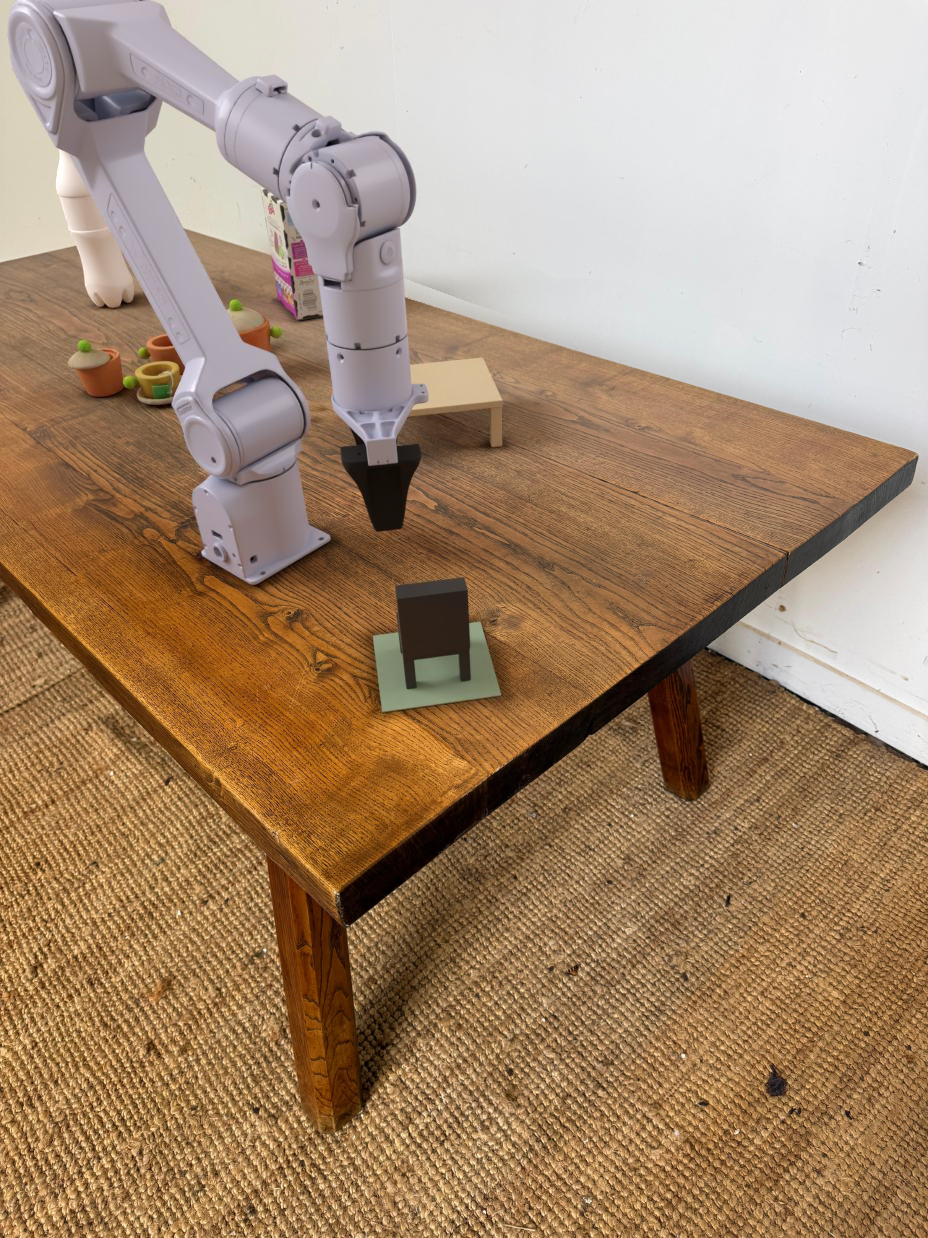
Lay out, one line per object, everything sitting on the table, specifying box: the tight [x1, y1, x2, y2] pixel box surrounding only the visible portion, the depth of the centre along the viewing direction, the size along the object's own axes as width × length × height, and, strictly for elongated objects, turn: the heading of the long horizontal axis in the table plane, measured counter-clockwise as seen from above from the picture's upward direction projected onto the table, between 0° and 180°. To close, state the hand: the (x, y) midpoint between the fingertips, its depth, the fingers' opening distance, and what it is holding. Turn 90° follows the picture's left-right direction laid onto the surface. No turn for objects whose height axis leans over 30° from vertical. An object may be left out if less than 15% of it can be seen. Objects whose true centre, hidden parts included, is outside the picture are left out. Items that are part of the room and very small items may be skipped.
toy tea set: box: [67, 299, 283, 406], centre depth 112 cm, size 26×16×10 cm, turn 126°
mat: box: [372, 621, 502, 714], centre depth 69 cm, size 9×9×1 cm
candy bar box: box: [260, 186, 323, 321], centre depth 130 cm, size 11×5×16 cm, turn 25°
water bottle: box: [55, 149, 135, 309], centre depth 132 cm, size 7×7×25 cm
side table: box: [407, 357, 504, 448], centre depth 99 cm, size 12×14×6 cm
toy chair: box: [394, 576, 471, 689], centre depth 66 cm, size 5×5×9 cm
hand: (384, 502), depth 70 cm, fingers open, 7 cm apart
